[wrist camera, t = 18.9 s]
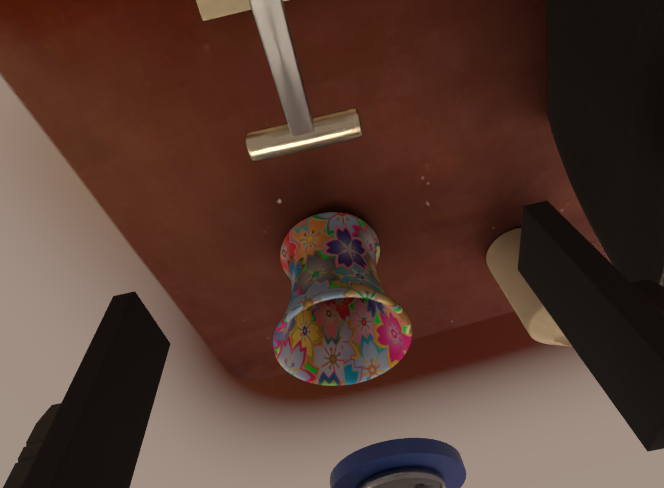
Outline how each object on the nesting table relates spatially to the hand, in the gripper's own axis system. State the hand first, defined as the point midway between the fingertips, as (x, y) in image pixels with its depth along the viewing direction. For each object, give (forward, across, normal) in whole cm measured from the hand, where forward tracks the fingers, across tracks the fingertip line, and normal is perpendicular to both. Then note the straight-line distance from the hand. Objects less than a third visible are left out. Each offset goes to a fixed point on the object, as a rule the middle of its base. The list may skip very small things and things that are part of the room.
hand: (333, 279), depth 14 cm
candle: (+18, +16, -17) cm, 29 cm away
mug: (+18, -1, -13) cm, 23 cm away
